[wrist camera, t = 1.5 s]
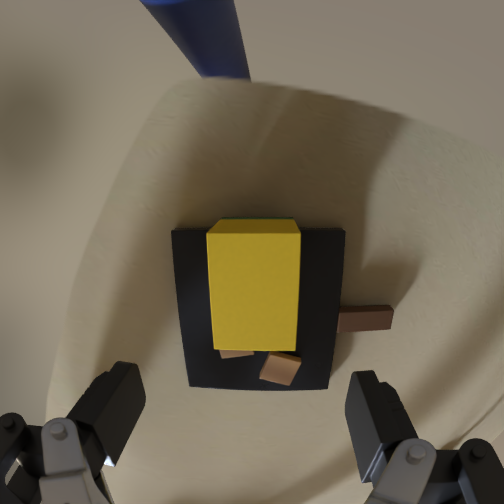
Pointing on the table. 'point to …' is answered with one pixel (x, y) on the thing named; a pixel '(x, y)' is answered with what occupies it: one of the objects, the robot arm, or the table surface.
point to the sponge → (254, 283)
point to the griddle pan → (308, 324)
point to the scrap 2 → (280, 368)
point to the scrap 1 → (235, 353)
